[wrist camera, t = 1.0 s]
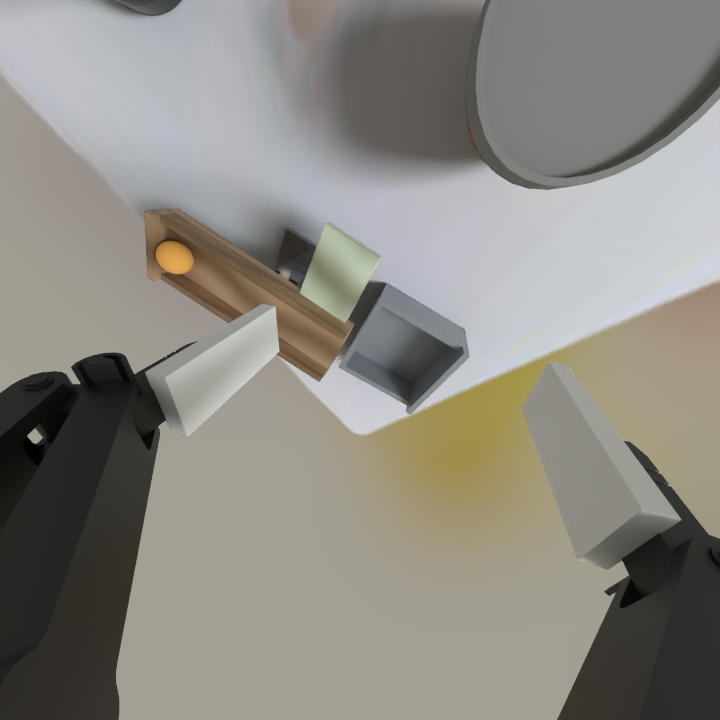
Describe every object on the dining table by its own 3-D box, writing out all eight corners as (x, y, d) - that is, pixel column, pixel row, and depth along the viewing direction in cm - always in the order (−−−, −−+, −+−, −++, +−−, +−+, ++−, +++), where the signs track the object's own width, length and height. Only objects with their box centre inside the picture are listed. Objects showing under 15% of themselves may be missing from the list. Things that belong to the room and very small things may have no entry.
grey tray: (386, 282, 37) (378, 302, 31) (464, 329, 38) (469, 356, 32) (348, 347, 45) (335, 372, 39) (413, 384, 46) (410, 414, 40)
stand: (289, 228, 36) (261, 238, 30) (341, 259, 36) (323, 275, 31) (268, 299, 43) (242, 319, 37) (312, 324, 44) (293, 347, 38)
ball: (173, 240, 32) (142, 243, 29) (193, 237, 30) (163, 241, 27) (185, 271, 33) (157, 277, 30) (205, 270, 32) (178, 276, 29)
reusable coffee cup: (615, 140, 24) (787, 111, 12) (471, 205, 30) (494, 228, 18) (617, -66, 19) (931, -478, 7) (439, 59, 24) (441, -51, 12)
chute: (191, 126, 26) (139, 114, 22) (393, 259, 27) (379, 272, 22) (184, 271, 36) (147, 282, 32) (331, 367, 37) (313, 389, 32)
